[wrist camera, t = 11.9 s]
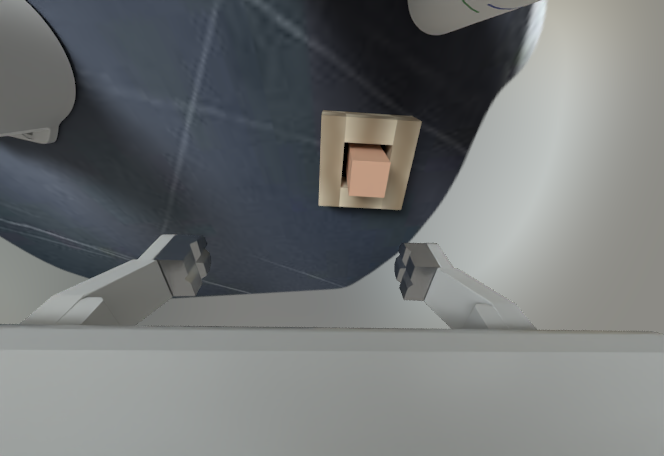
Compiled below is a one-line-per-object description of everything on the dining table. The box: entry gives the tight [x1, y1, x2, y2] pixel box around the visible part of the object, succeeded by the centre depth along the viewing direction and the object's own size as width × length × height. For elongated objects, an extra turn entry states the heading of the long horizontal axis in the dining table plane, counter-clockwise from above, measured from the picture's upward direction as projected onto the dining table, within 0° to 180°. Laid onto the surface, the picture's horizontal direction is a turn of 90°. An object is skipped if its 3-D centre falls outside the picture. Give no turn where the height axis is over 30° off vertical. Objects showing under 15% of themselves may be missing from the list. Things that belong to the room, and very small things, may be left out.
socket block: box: [319, 110, 422, 210], centre depth 31 cm, size 11×11×4 cm
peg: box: [346, 142, 391, 198], centre depth 30 cm, size 4×4×8 cm
